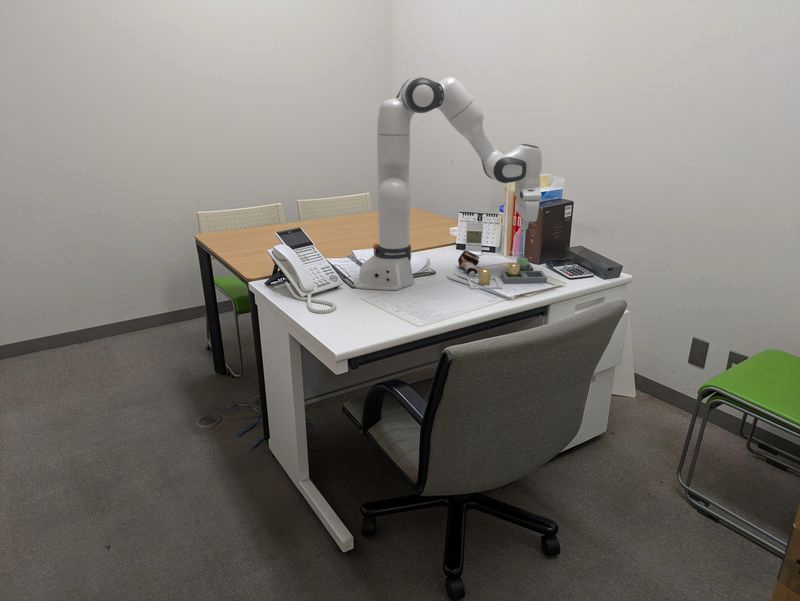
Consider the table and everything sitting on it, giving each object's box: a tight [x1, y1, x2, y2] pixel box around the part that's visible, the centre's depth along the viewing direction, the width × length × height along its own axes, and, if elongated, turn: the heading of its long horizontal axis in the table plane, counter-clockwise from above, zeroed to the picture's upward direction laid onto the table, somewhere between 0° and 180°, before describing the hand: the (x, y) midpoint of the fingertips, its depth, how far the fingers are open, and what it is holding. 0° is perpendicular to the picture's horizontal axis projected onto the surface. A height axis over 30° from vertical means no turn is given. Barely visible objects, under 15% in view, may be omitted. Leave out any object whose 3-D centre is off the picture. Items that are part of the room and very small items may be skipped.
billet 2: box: [507, 261, 520, 277], centre depth 199 cm, size 4×4×6 cm
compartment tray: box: [499, 270, 549, 285], centre depth 200 cm, size 16×9×3 cm, turn 90°
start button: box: [516, 257, 529, 268], centre depth 207 cm, size 4×4×4 cm
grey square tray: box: [466, 276, 503, 290], centre depth 197 cm, size 11×11×2 cm
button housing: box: [519, 262, 534, 271], centre depth 207 cm, size 7×7×4 cm
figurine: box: [457, 250, 480, 278], centre depth 210 cm, size 9×8×15 cm
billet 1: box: [478, 267, 491, 286], centre depth 196 cm, size 4×4×6 cm
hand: (524, 228), depth 202 cm, fingers closed
